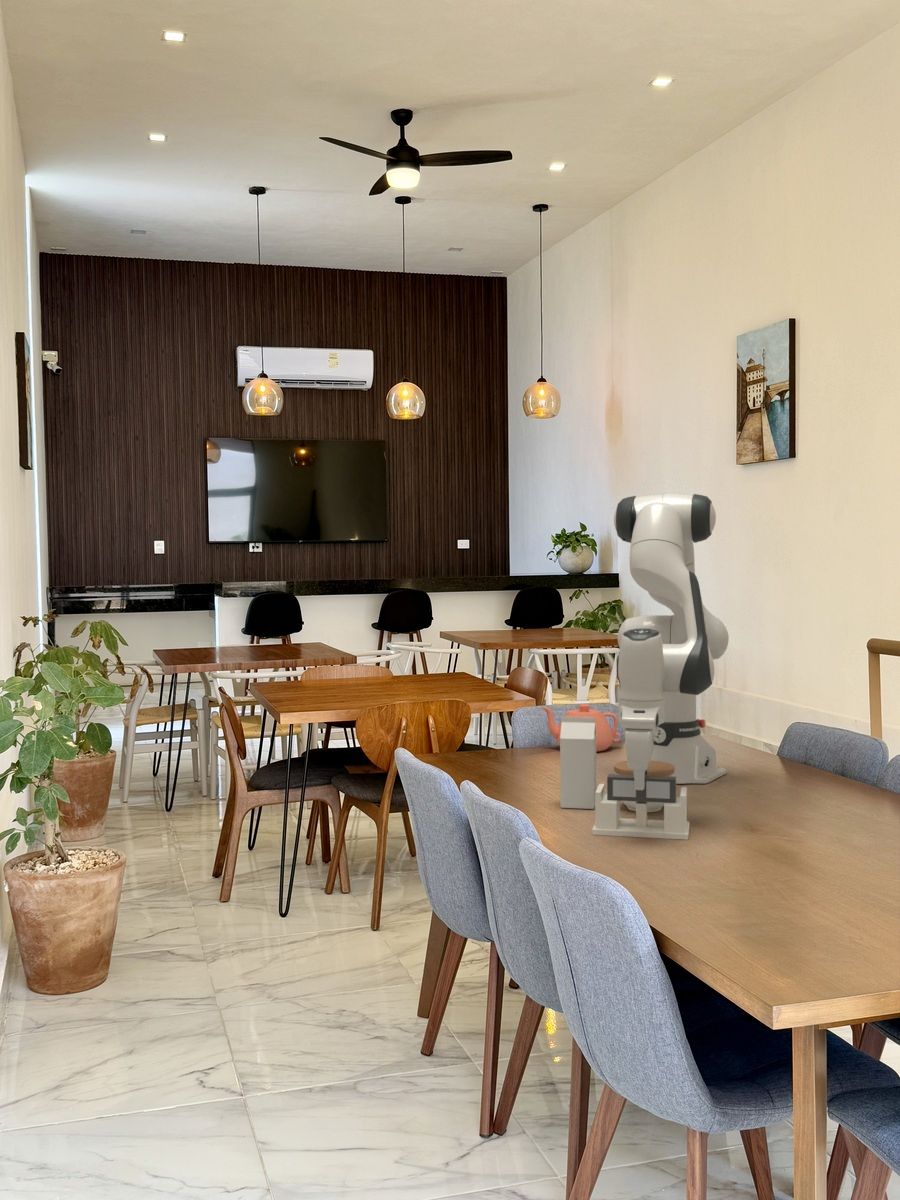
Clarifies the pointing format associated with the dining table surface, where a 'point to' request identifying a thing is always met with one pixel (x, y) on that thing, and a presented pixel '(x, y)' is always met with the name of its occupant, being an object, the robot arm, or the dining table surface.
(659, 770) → the lidded bowl
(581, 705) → the teapot
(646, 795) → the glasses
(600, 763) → the dining table surface
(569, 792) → the milk carton
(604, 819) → the stand
